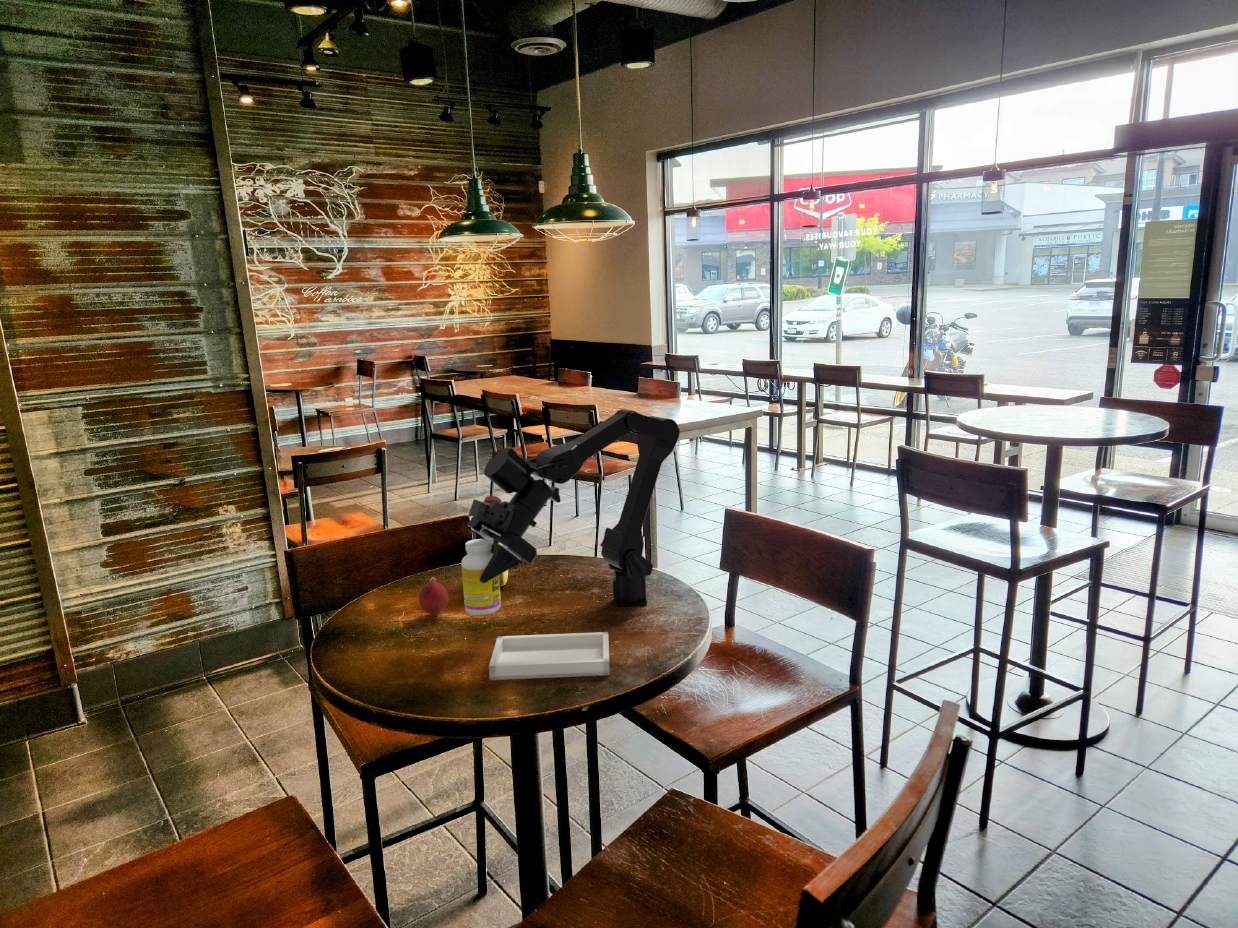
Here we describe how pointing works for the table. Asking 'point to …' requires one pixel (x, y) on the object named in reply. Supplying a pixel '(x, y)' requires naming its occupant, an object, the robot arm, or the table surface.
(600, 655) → the tray
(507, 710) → the table surface
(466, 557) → the supplement bottle
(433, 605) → the onion
